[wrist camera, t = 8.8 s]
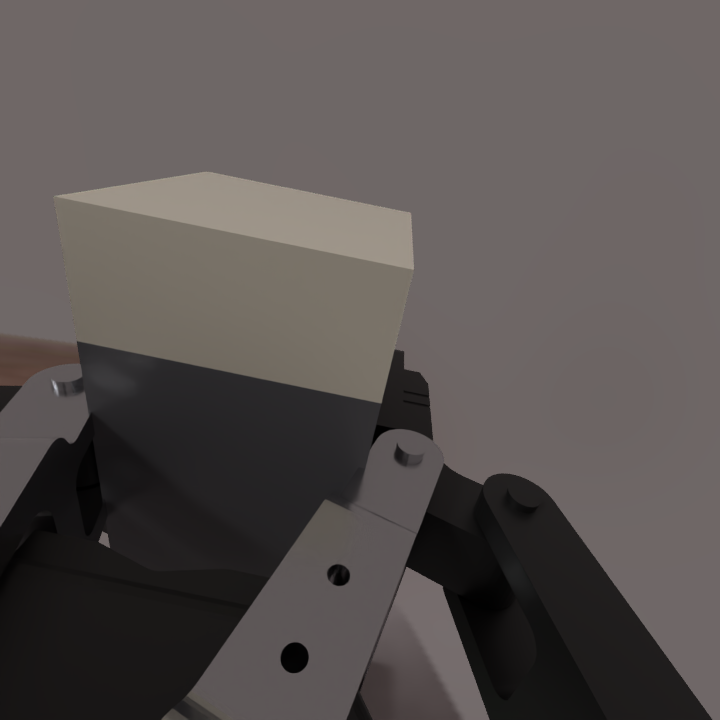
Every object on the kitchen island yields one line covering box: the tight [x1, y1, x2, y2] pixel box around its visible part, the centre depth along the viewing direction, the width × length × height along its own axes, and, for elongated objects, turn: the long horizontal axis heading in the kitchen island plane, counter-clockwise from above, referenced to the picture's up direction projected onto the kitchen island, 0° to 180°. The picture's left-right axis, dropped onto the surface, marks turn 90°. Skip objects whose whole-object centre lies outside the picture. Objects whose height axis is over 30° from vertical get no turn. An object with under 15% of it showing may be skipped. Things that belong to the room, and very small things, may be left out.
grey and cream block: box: [53, 172, 414, 578], centre depth 10 cm, size 4×4×11 cm
